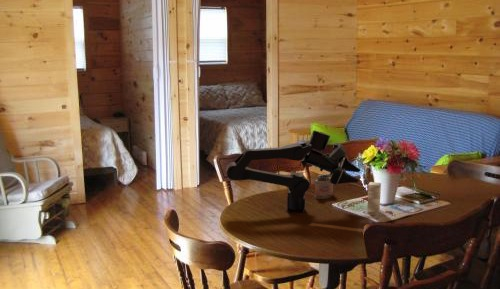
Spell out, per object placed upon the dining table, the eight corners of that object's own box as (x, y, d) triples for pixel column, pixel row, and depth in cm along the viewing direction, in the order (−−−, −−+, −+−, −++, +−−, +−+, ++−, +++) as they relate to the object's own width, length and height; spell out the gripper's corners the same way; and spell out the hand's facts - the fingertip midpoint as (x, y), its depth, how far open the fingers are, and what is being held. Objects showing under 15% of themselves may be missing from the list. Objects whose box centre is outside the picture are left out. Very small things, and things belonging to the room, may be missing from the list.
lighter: (316, 199, 222) (316, 175, 220) (313, 197, 225) (313, 173, 224) (334, 197, 224) (334, 174, 223) (330, 195, 228) (331, 172, 226)
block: (367, 213, 200) (368, 184, 198) (369, 210, 203) (370, 182, 202) (378, 214, 198) (379, 185, 196) (379, 211, 202) (380, 183, 200)
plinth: (363, 216, 199) (364, 213, 199) (366, 211, 205) (366, 209, 205) (380, 217, 197) (380, 215, 197) (382, 213, 203) (382, 210, 203)
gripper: (325, 152, 192) (366, 168, 191) (330, 133, 209) (368, 148, 207) (314, 177, 197) (354, 193, 195) (320, 157, 214) (357, 172, 212)
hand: (359, 175), depth 202 cm, fingers open, 9 cm apart
